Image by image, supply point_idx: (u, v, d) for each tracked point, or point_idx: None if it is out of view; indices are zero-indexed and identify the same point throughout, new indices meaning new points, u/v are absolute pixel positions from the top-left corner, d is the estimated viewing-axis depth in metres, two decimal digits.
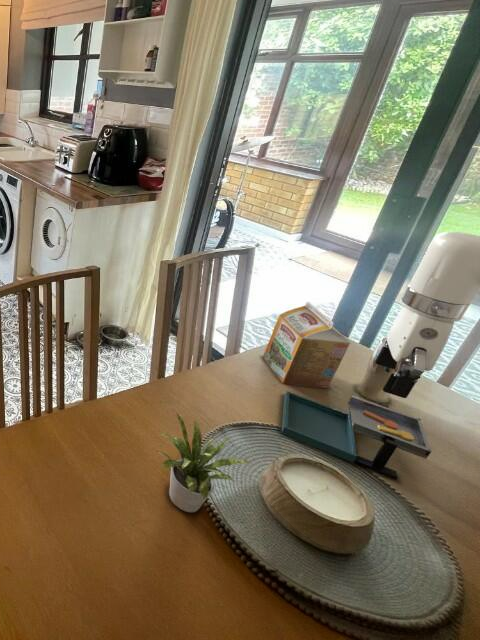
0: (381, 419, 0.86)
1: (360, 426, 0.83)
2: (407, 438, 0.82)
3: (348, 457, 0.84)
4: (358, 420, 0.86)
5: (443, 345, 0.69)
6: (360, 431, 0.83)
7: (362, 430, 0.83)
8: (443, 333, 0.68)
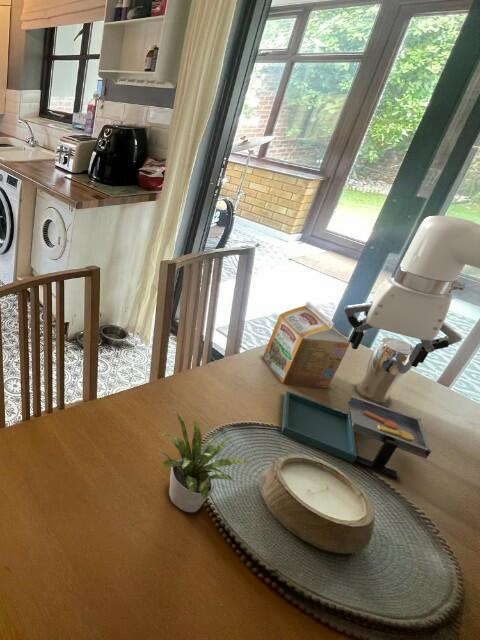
0: (381, 419, 0.86)
1: (360, 426, 0.83)
2: (407, 438, 0.82)
3: (348, 457, 0.84)
4: (358, 420, 0.86)
5: None
6: (360, 431, 0.83)
7: (362, 430, 0.83)
8: None
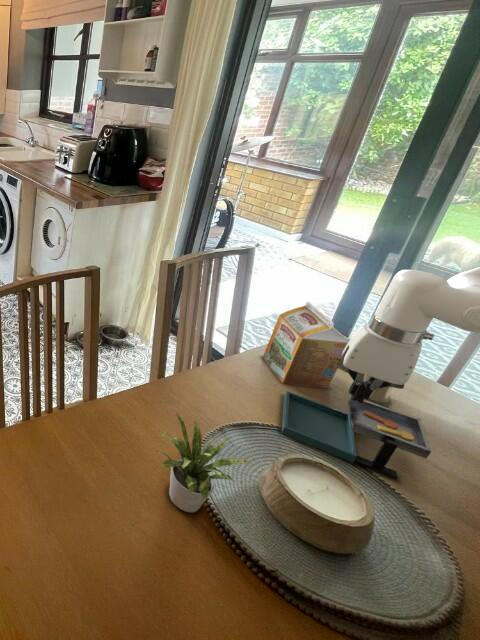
0: (381, 419, 0.86)
1: (360, 426, 0.83)
2: (407, 438, 0.82)
3: (348, 457, 0.84)
4: (358, 420, 0.86)
5: None
6: (360, 431, 0.83)
7: (362, 430, 0.83)
8: None
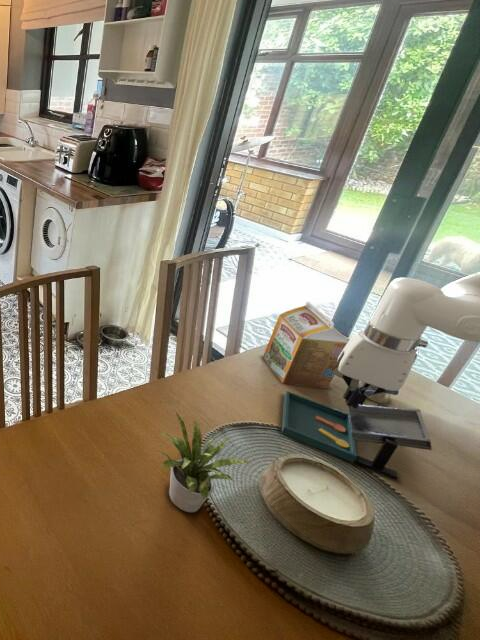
0: (331, 424, 0.92)
1: (357, 434, 0.84)
2: (339, 444, 0.87)
3: (348, 457, 0.84)
4: (358, 427, 0.87)
5: None
6: (360, 438, 0.84)
7: (361, 437, 0.84)
8: None
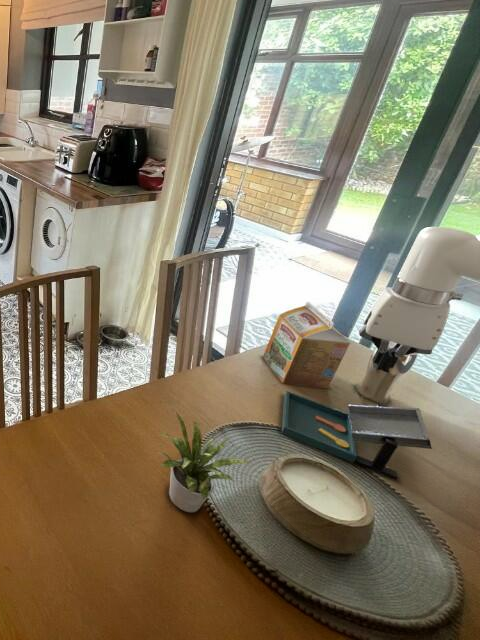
0: (331, 424, 0.92)
1: (357, 434, 0.84)
2: (339, 444, 0.87)
3: (348, 457, 0.84)
4: (358, 428, 0.87)
5: None
6: (360, 439, 0.84)
7: (361, 438, 0.84)
8: None
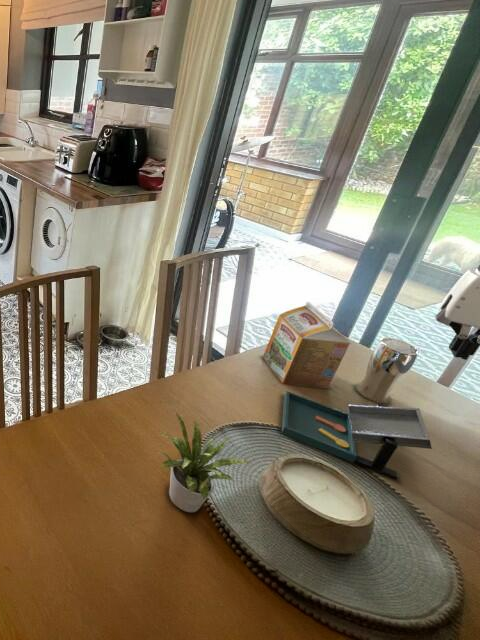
0: (331, 424, 0.92)
1: (357, 434, 0.84)
2: (339, 444, 0.87)
3: (348, 457, 0.84)
4: (358, 428, 0.87)
5: None
6: (360, 439, 0.84)
7: (361, 438, 0.84)
8: None
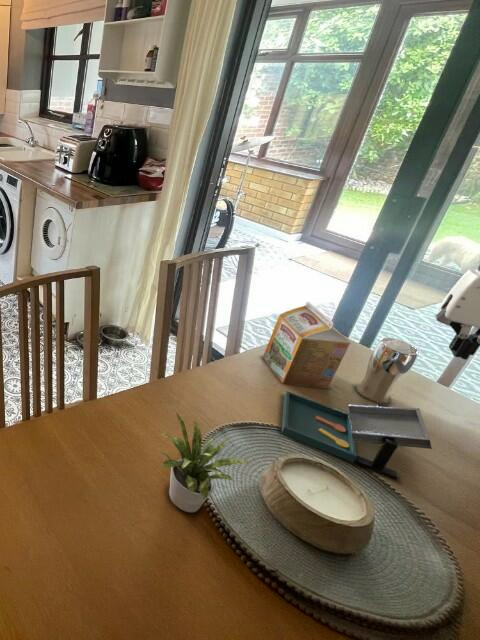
0: (331, 424, 0.92)
1: (357, 434, 0.84)
2: (339, 444, 0.87)
3: (348, 457, 0.84)
4: (358, 428, 0.87)
5: None
6: (360, 439, 0.84)
7: (361, 438, 0.84)
8: None
